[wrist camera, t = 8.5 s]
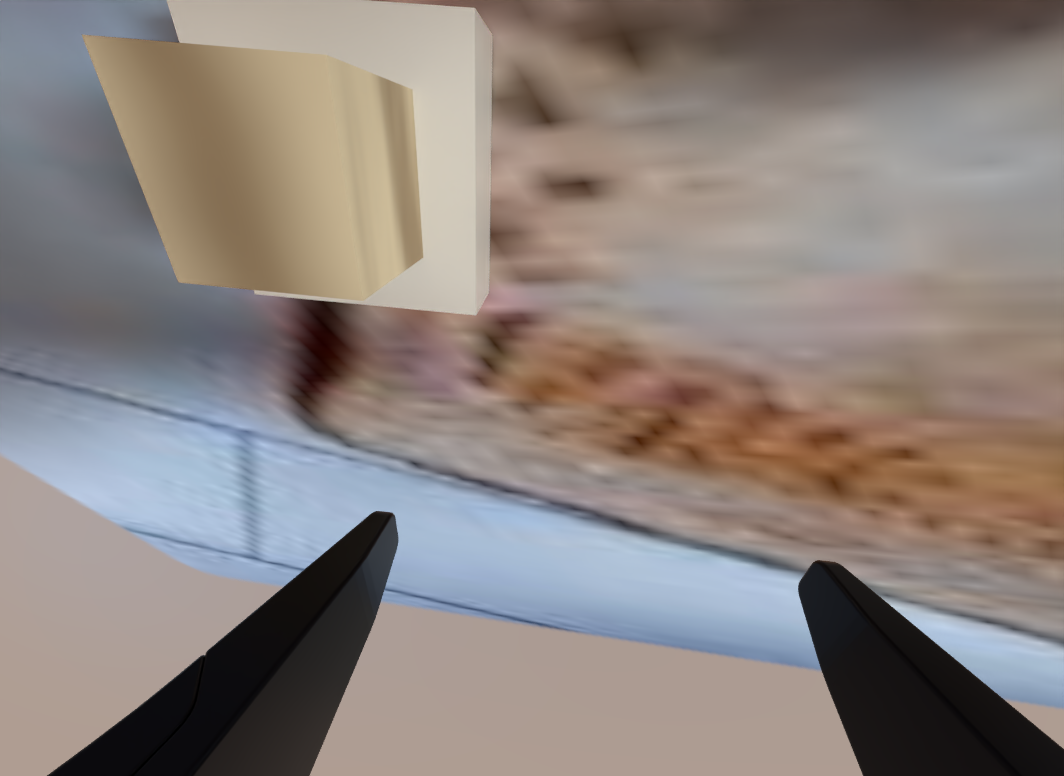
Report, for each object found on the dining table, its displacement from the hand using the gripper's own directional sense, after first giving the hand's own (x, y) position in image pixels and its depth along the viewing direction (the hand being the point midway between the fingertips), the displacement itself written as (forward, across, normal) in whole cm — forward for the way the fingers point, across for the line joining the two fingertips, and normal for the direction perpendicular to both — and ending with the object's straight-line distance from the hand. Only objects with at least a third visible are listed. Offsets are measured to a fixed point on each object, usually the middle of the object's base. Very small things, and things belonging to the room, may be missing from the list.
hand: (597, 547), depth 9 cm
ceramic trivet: (+12, +9, -6) cm, 16 cm away
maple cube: (+9, +9, -6) cm, 14 cm away
